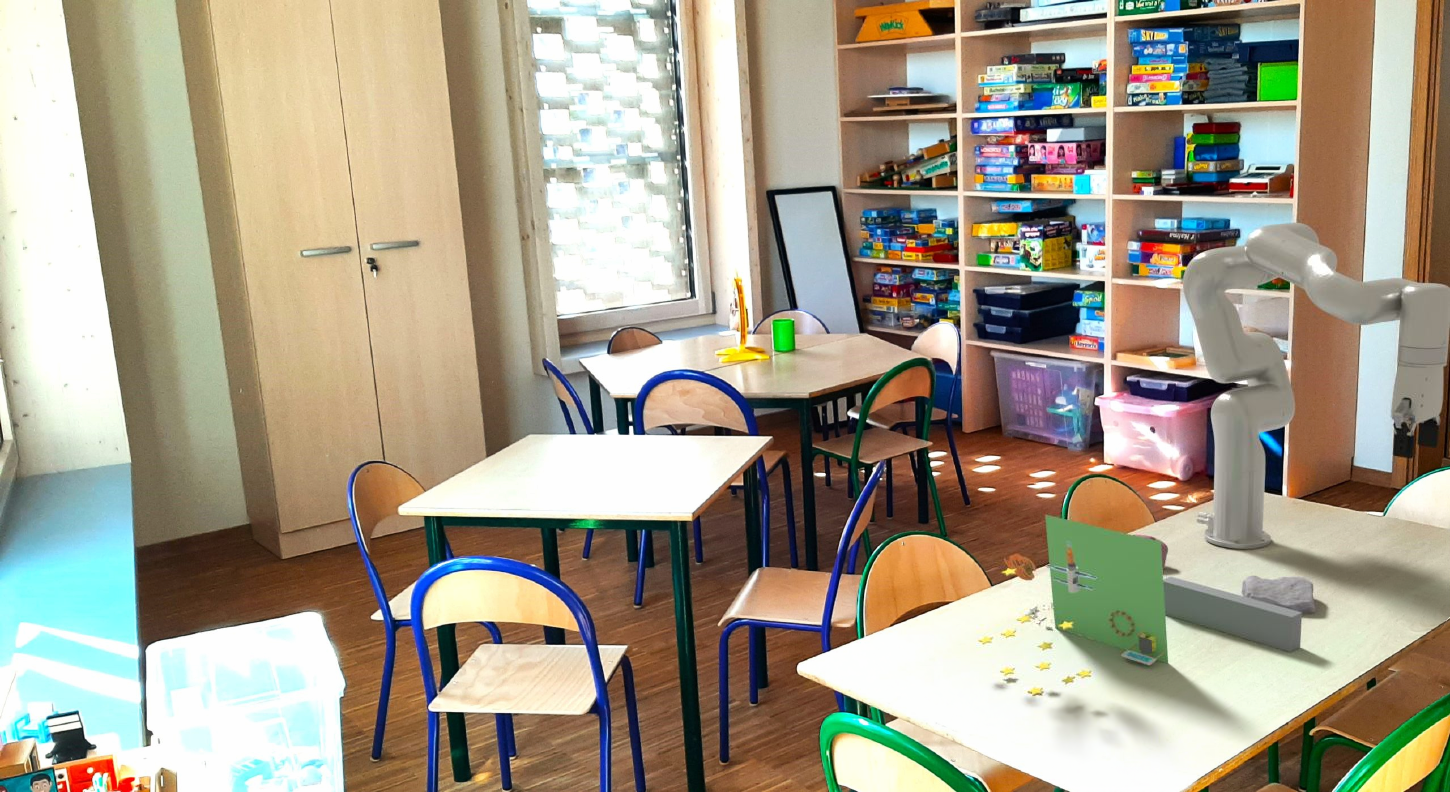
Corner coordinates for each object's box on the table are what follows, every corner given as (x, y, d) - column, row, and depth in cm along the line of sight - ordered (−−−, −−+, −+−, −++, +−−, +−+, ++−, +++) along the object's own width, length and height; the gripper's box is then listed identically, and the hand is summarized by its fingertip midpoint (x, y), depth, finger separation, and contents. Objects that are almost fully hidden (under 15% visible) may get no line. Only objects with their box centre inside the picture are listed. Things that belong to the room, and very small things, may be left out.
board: (1160, 612, 223) (1160, 580, 221) (1169, 608, 224) (1170, 576, 223) (1290, 652, 204) (1292, 617, 203) (1300, 646, 206) (1301, 612, 204)
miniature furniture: (1116, 590, 235) (1116, 582, 235) (1052, 632, 217) (1052, 624, 217) (1080, 582, 240) (1080, 575, 240) (1015, 623, 222) (1015, 615, 222)
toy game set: (965, 689, 204) (950, 555, 197) (1057, 626, 219) (1045, 500, 212) (1079, 732, 188) (1066, 589, 181) (1170, 662, 202) (1162, 526, 196)
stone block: (1317, 625, 219) (1312, 594, 227) (1318, 601, 217) (1312, 571, 226) (1243, 622, 223) (1241, 592, 231) (1244, 599, 221) (1241, 569, 230)
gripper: (1421, 346, 225) (1414, 439, 229) (1377, 360, 215) (1371, 457, 218) (1466, 350, 220) (1459, 445, 223) (1423, 365, 209) (1416, 465, 213)
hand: (1415, 451), depth 221 cm, fingers open, 9 cm apart
